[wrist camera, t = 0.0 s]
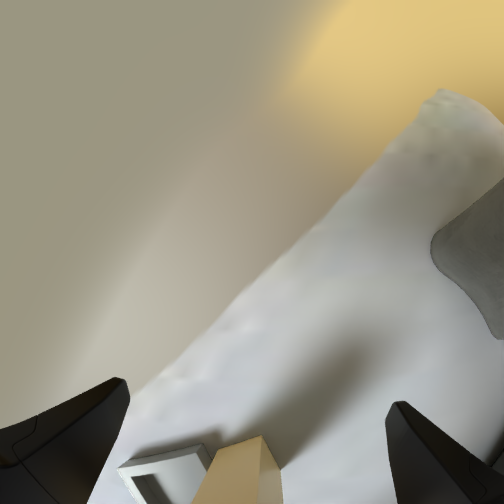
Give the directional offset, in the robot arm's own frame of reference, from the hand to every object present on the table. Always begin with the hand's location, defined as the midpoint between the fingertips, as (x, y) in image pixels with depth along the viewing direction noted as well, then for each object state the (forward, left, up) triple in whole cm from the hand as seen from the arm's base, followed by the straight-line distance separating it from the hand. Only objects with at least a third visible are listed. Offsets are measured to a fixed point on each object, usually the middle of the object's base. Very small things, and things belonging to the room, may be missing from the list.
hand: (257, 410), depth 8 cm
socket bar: (-11, +12, -15) cm, 22 cm away
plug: (-7, +5, -15) cm, 17 cm away
